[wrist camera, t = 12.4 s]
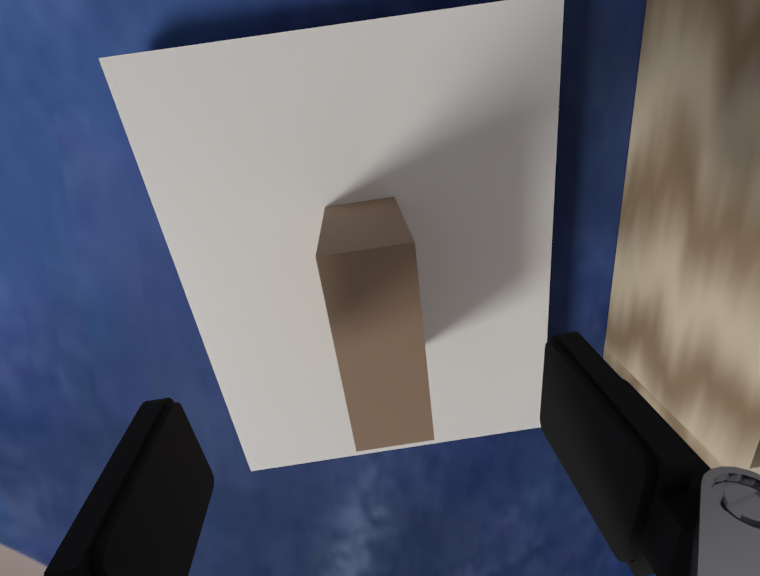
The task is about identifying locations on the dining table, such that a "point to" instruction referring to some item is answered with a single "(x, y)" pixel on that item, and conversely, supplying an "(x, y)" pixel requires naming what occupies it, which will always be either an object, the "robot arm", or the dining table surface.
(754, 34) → the box
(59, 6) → the dining table surface
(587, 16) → the dining table surface
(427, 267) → the lid
